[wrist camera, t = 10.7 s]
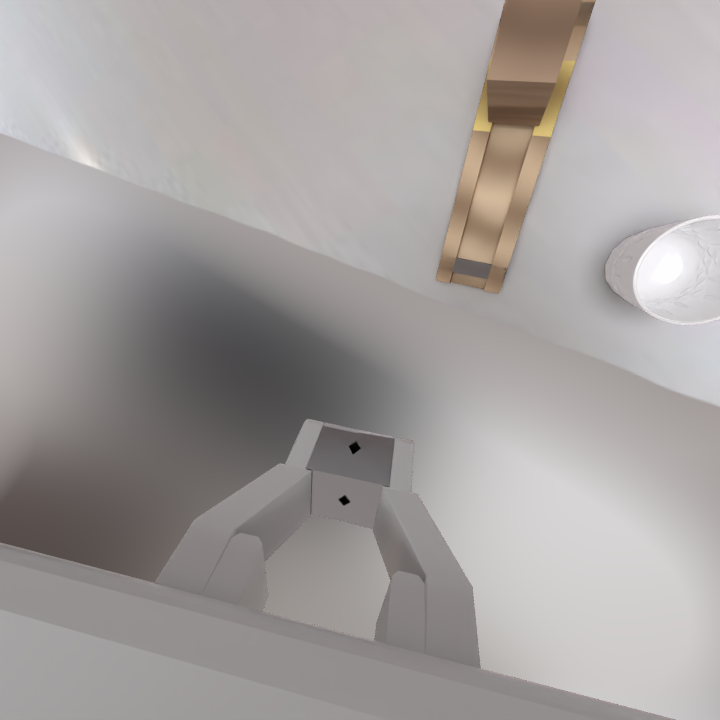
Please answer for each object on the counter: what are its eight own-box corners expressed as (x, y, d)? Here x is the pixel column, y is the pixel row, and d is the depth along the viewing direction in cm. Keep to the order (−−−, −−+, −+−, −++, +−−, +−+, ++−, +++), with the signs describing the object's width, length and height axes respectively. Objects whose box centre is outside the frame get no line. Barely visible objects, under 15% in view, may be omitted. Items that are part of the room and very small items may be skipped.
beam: (498, 290, 39) (499, 293, 35) (439, 277, 40) (435, 280, 37) (585, 23, 29) (596, -3, 26) (504, 23, 31) (505, -1, 28)
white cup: (621, 215, 33) (668, 204, 24) (715, 233, 31) (805, 228, 22) (583, 293, 36) (613, 308, 27) (666, 313, 34) (728, 338, 25)
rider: (537, 131, 31) (556, 82, 22) (488, 127, 32) (486, 79, 23) (555, 71, 29) (584, -8, 20) (503, 69, 31) (508, -7, 21)
